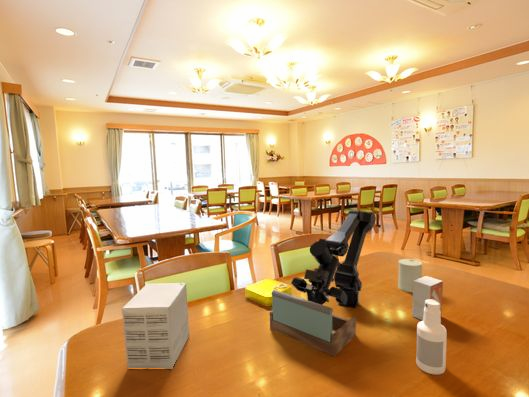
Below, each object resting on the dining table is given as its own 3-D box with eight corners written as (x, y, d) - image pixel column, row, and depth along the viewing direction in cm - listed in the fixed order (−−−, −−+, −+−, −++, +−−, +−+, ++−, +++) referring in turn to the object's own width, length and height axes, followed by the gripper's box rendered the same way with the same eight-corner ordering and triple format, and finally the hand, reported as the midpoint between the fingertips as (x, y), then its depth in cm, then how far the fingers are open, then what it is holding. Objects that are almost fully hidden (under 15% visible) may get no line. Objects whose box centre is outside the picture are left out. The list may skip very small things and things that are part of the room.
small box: (429, 323, 104) (430, 286, 102) (411, 316, 109) (412, 280, 108) (442, 316, 108) (443, 280, 107) (424, 309, 114) (425, 275, 112)
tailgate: (276, 317, 104) (275, 288, 103) (333, 339, 90) (332, 306, 89) (272, 320, 102) (271, 290, 101) (329, 343, 88) (329, 309, 87)
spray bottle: (411, 359, 86) (412, 297, 84) (434, 357, 86) (436, 295, 84) (425, 376, 79) (427, 308, 77) (451, 374, 79) (454, 307, 77)
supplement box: (150, 335, 102) (146, 282, 100) (190, 335, 102) (187, 282, 100) (125, 371, 85) (119, 307, 83) (173, 370, 85) (169, 307, 82)
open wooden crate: (293, 313, 114) (293, 297, 113) (355, 335, 98) (355, 317, 98) (270, 328, 104) (269, 311, 103) (334, 356, 88) (334, 336, 88)
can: (422, 286, 134) (423, 259, 133) (420, 294, 126) (421, 265, 125) (399, 282, 139) (400, 256, 138) (396, 290, 131) (396, 262, 130)
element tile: (268, 286, 140) (267, 276, 140) (294, 295, 130) (293, 284, 129) (243, 297, 130) (242, 286, 129) (269, 308, 119) (269, 296, 119)
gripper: (293, 254, 107) (274, 295, 100) (343, 264, 95) (325, 312, 88) (306, 270, 114) (289, 309, 107) (354, 281, 102) (338, 327, 95)
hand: (308, 314), depth 99 cm, fingers closed
